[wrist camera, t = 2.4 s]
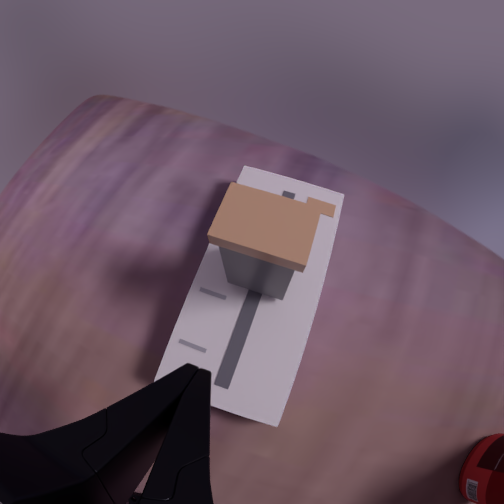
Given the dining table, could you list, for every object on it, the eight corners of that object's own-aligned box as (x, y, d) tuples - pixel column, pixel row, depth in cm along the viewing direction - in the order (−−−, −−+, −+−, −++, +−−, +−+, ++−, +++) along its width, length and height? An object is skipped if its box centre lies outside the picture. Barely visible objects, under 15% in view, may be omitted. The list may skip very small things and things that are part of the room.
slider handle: (287, 303, 20) (306, 265, 13) (221, 282, 21) (206, 234, 14) (300, 262, 21) (322, 208, 14) (237, 242, 22) (231, 181, 15)
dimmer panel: (274, 421, 20) (277, 427, 17) (163, 380, 21) (153, 381, 18) (337, 209, 27) (344, 194, 24) (245, 182, 28) (244, 164, 25)
